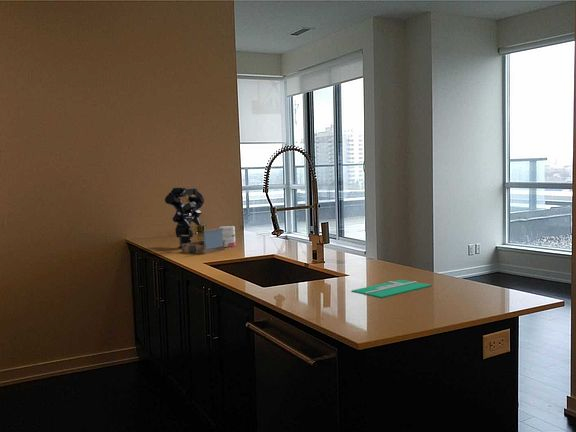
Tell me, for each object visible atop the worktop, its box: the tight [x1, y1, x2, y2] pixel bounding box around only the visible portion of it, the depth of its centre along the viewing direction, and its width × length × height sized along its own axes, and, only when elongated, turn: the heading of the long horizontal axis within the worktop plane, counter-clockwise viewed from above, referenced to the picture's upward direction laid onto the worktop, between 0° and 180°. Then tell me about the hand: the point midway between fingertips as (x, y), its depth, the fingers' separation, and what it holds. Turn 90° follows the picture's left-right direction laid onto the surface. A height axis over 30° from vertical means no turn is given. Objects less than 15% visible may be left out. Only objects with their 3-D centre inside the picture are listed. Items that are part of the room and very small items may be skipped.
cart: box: [180, 240, 225, 255], centre depth 333 cm, size 18×19×4 cm
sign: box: [350, 279, 433, 299], centre depth 217 cm, size 27×1×15 cm
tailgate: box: [202, 228, 223, 250], centre depth 328 cm, size 1×14×10 cm, turn 144°
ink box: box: [218, 225, 236, 248], centre depth 349 cm, size 9×5×12 cm, turn 84°
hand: (195, 226), depth 336 cm, fingers open, 8 cm apart
